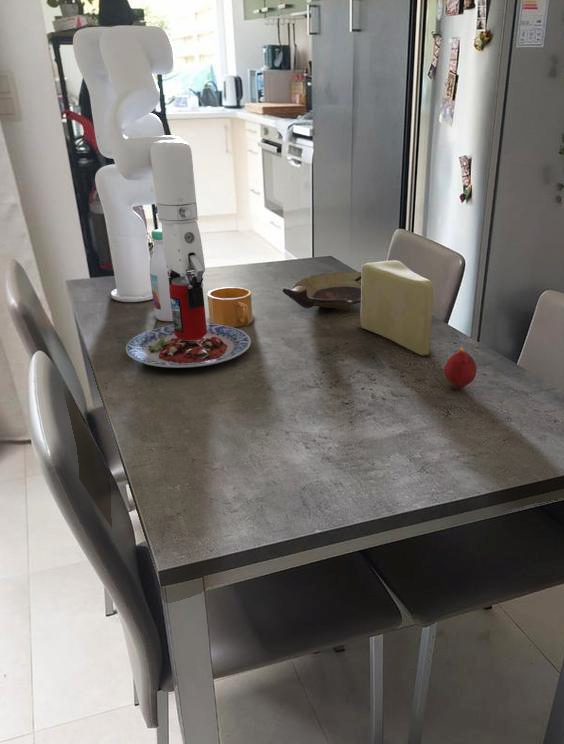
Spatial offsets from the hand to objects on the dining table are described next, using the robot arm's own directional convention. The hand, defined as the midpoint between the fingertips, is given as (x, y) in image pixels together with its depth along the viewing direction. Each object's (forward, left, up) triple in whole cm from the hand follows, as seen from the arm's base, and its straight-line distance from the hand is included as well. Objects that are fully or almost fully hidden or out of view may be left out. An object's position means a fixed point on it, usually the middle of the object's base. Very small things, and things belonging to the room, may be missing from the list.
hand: (187, 301), depth 142 cm
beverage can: (0, 0, -8) cm, 8 cm away
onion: (+46, +34, -11) cm, 58 cm away
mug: (-12, +16, -11) cm, 23 cm away
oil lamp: (-12, +42, -11) cm, 45 cm away
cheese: (+19, +41, -11) cm, 47 cm away
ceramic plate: (+1, -1, -11) cm, 11 cm away
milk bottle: (-24, +5, -11) cm, 27 cm away
